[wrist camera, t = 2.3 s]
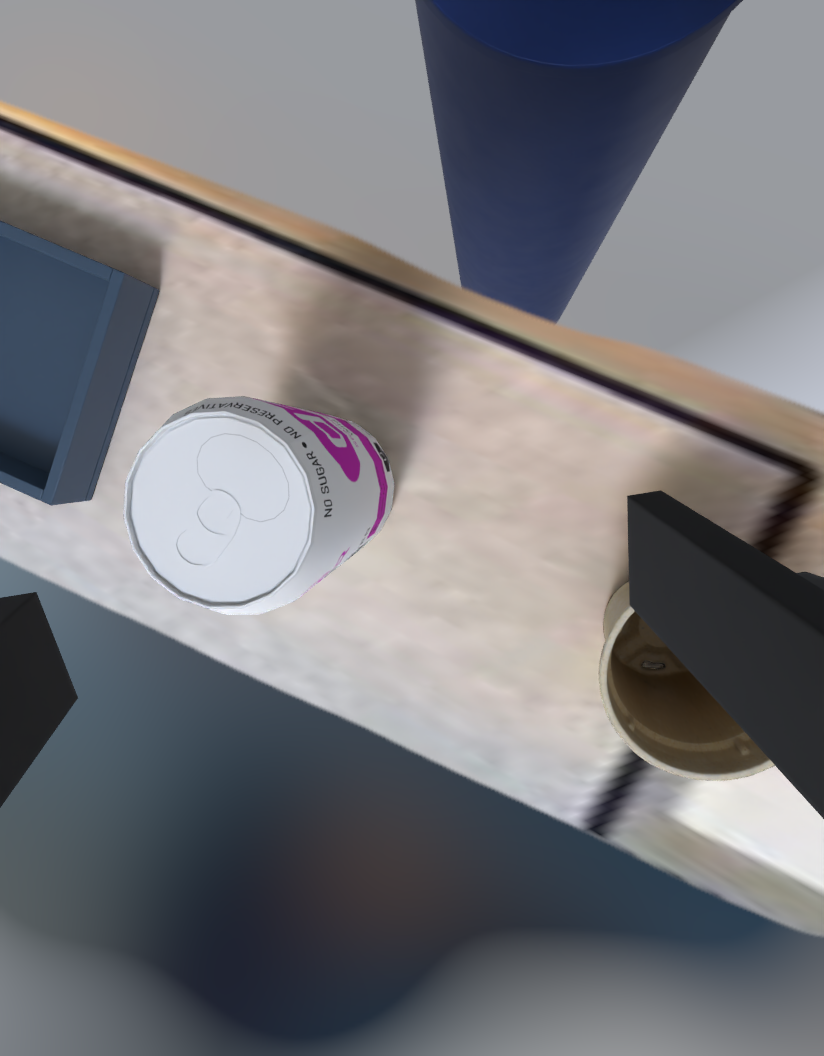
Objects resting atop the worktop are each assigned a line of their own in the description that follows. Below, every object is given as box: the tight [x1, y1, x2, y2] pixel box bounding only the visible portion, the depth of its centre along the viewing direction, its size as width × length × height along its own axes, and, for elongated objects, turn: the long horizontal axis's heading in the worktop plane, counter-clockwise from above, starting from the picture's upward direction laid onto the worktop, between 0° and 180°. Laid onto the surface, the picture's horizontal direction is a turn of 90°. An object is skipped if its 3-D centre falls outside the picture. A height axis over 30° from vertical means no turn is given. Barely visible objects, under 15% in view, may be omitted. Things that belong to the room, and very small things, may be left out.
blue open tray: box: [0, 221, 159, 505], centre depth 36 cm, size 13×13×4 cm
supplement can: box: [123, 396, 395, 615], centre depth 29 cm, size 8×8×15 cm
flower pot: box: [599, 581, 775, 781], centre depth 31 cm, size 9×9×9 cm
